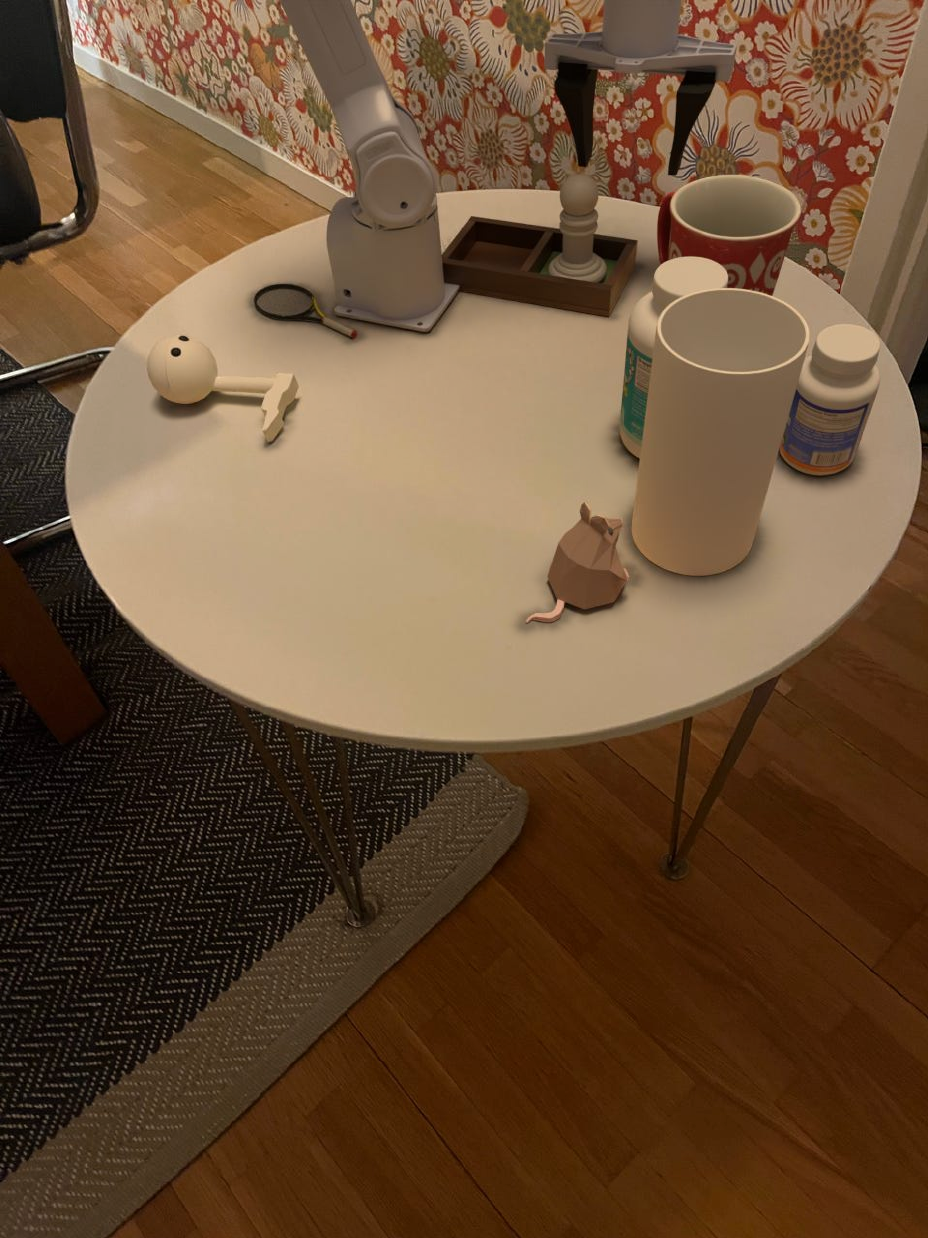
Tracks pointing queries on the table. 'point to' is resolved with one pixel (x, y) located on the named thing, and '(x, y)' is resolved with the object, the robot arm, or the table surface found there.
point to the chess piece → (578, 231)
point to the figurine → (213, 379)
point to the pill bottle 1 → (667, 287)
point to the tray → (533, 265)
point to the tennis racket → (301, 315)
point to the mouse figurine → (586, 565)
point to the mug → (730, 227)
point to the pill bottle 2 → (832, 400)
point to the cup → (714, 425)
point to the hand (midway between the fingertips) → (628, 165)
